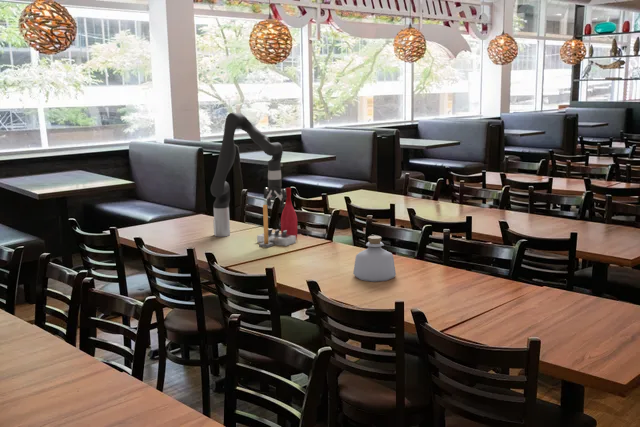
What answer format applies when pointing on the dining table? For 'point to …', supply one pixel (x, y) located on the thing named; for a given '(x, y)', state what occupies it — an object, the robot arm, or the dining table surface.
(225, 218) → the robot arm
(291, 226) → the wine bottle
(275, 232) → the middle paddle
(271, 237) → the breaker panel
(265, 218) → the orange post
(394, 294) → the dining table surface
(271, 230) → the paddle
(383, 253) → the bottle
